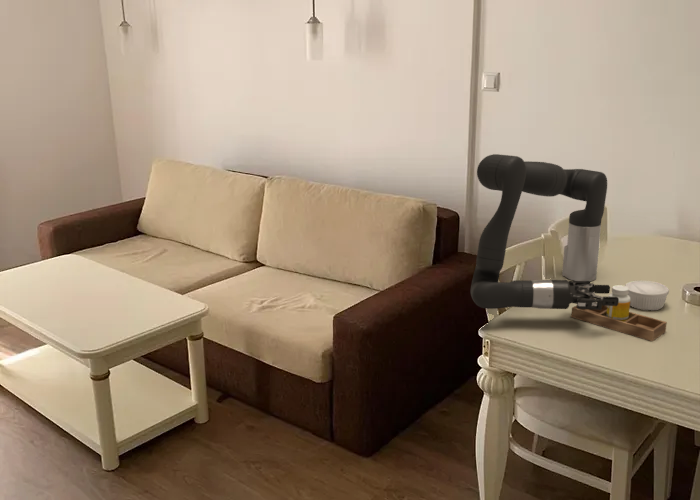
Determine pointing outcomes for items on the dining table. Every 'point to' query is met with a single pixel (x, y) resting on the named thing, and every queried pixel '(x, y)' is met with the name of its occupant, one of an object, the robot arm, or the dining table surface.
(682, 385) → the dining table surface
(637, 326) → the wooden compartment tray
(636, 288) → the ramekin
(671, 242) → the dining table surface
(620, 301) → the supplement bottle
